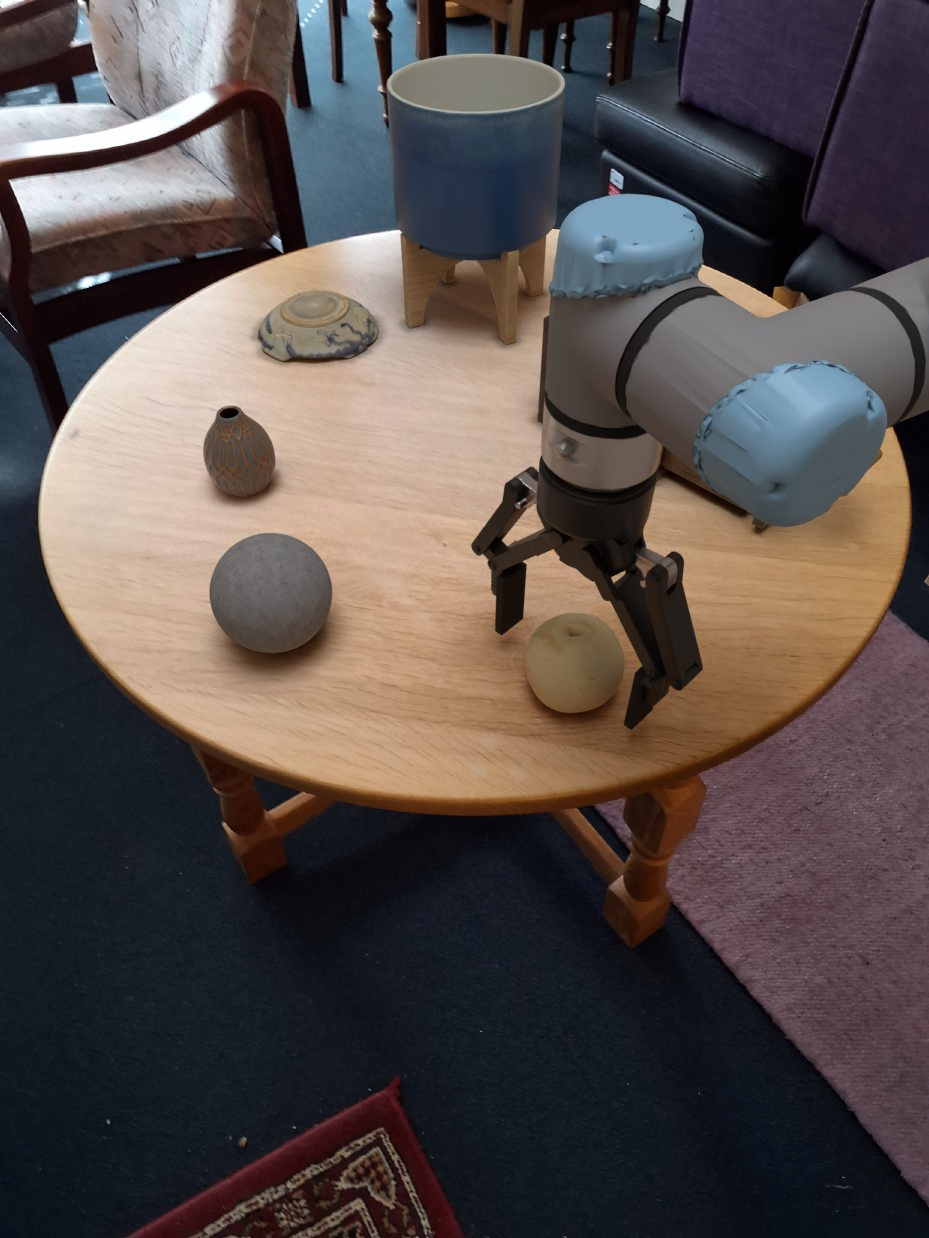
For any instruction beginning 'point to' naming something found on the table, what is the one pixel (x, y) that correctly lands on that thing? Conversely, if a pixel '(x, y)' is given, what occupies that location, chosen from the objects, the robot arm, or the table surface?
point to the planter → (475, 173)
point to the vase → (238, 453)
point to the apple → (574, 662)
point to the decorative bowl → (317, 327)
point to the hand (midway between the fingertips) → (570, 669)
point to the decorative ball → (270, 592)
